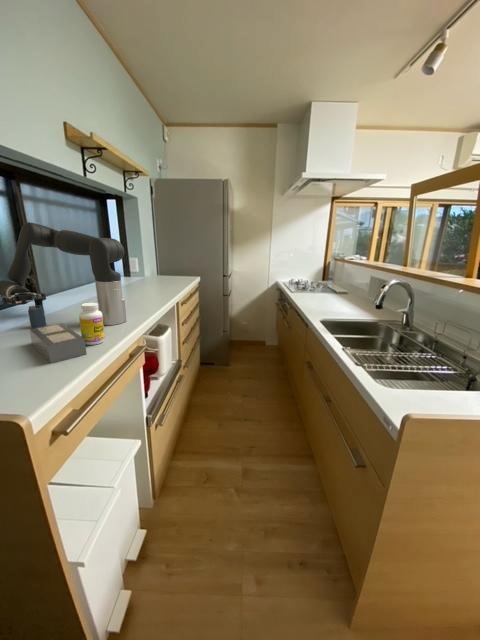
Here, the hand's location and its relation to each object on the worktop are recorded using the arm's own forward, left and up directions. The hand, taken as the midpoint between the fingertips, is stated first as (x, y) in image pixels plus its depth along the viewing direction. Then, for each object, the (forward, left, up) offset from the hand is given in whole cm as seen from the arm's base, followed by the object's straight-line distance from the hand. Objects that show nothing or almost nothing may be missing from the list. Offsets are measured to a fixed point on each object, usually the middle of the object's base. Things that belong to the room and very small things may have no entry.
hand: (28, 300), depth 107 cm
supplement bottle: (-8, +41, -8) cm, 43 cm away
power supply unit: (+2, +40, -8) cm, 41 cm away
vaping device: (0, +11, -8) cm, 14 cm away
